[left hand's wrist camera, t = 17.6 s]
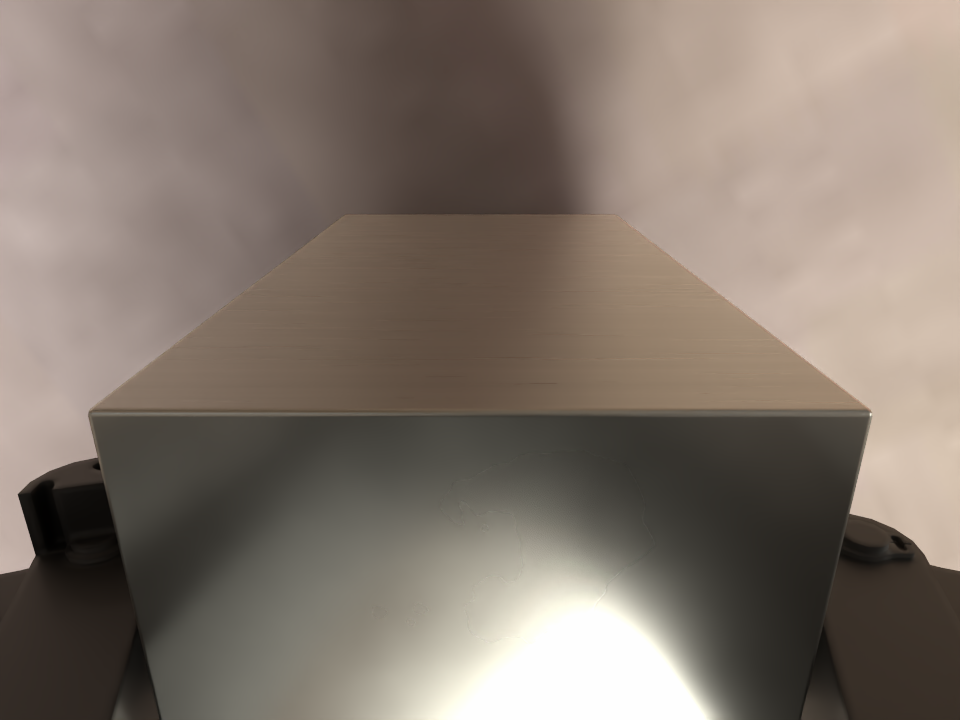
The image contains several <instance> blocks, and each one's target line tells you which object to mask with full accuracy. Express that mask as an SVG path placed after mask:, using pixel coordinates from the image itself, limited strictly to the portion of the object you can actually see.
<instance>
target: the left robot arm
mask: <svg viewBox="0 0 960 720" xmlns="http://www.w3.org/2000/svg"><path fill="white" fill-rule="evenodd" d="M18 497H19V500H20V504H21V507H22V510H23V514H24V517H25V520H26V524H27V527H28V531H29V534H30V537H31V541H32V544H33V548H34V551H35V554H36V556H35V558H34V560H33V562H32V564H31V566H30V568H29V569H25V570H21V571H15V572H10V573H5V574H0V720H160V719H159V715H158V711H157V707H156V702H155V698H154V694H153V690H152V685H151V681H150V677H149V673H148V668H147V664H146V660H145V656H144V651H143V647H142V643H141V639H140V634H139V630H138V626H137V622H136V617H135V613H134V609H133V604H132V600H131V596H130V592H129V587H128V583H127V579H126V575H125V570H124V566H123V562H122V558H121V553H120V549H119V545H118V541H117V536H116V532H115V528H114V524H113V519H112V515H111V511H110V506H109V502H108V498H107V494H106V489H105V485H104V481H103V477H102V472H101V468H100V464H99V460H98V458H94V459H89V460H84V461H79V462H74V463H71V464H68V465H65V466H63V467H60V468H57V469H54V470H51V471H49V472H47V473H46V474H44V475H42V476H40V477H39V478H37V479H35V480H33V481H31V482H30V483H29V484H28V485H27V486H26V487H25V488H24V489H23V490H22V491H21V492H20V493H19V494H18ZM801 720H960V571H956V570H950V569H945V568H940V567H936V566H932V565H930V564H929V562H928V561H927V559H926V557H925V555H924V554H923V552H922V551H921V550H920V549H919V548H918V547H917V545H916V544H915V543H914V542H913V541H912V540H910V539H909V538H907V537H906V536H904V535H903V534H901V533H900V532H898V531H897V530H895V529H894V528H891V527H889V526H887V525H884V524H882V523H880V522H877V521H875V520H872V519H869V518H864V517H860V516H856V515H852V514H849V517H848V521H847V525H846V530H845V534H844V538H843V542H842V547H841V551H840V555H839V559H838V564H837V568H836V572H835V576H834V581H833V585H832V589H831V593H830V598H829V602H828V606H827V610H826V615H825V619H824V623H823V627H822V632H821V636H820V640H819V644H818V649H817V653H816V657H815V661H814V666H813V670H812V674H811V678H810V683H809V687H808V691H807V695H806V700H805V704H804V708H803V712H802V717H801Z"/></svg>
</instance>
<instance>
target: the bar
mask: <svg viewBox="0 0 960 720" xmlns="http://www.w3.org/2000/svg"><path fill="white" fill-rule="evenodd" d="M88 417H89V421H90V426H91V430H92V434H93V438H94V443H95V447H96V451H97V455H98V460H99V464H100V468H101V472H102V477H103V481H104V485H105V489H106V494H107V498H108V502H109V506H110V511H111V515H112V519H113V524H114V528H115V532H116V536H117V541H118V545H119V549H120V553H121V558H122V562H123V566H124V570H125V575H126V579H127V583H128V587H129V592H130V596H131V600H132V604H133V609H134V613H135V617H136V622H137V626H138V630H139V634H140V639H141V643H142V647H143V651H144V656H145V660H146V664H147V668H148V673H149V677H150V681H151V685H152V690H153V694H154V698H155V702H156V707H157V711H158V715H159V719H160V720H801V717H802V712H803V708H804V704H805V700H806V695H807V691H808V687H809V683H810V678H811V674H812V670H813V666H814V661H815V657H816V653H817V649H818V644H819V640H820V636H821V632H822V627H823V623H824V619H825V615H826V610H827V606H828V602H829V598H830V593H831V589H832V585H833V581H834V576H835V572H836V568H837V564H838V559H839V555H840V551H841V547H842V542H843V538H844V534H845V530H846V525H847V521H848V517H849V513H850V508H851V504H852V500H853V496H854V491H855V487H856V483H857V479H858V474H859V470H860V466H861V462H862V457H863V453H864V449H865V445H866V440H867V436H868V432H869V428H870V423H871V419H872V412H871V410H870V409H869V408H867V407H866V406H865V405H864V404H862V403H861V402H860V401H858V400H857V399H856V398H854V397H853V396H852V395H851V394H849V393H848V392H847V391H845V390H844V389H843V388H841V387H840V386H839V385H837V384H836V383H835V382H834V381H832V380H831V379H830V378H828V377H827V376H826V375H824V374H823V373H822V372H821V371H819V370H818V369H817V368H815V367H814V366H813V365H811V364H810V363H809V362H808V361H806V360H805V359H804V358H802V357H801V356H800V355H798V354H797V353H796V352H794V351H793V350H792V349H791V348H789V347H788V346H787V345H785V344H784V343H783V342H781V341H780V340H779V339H778V338H776V337H775V336H774V335H772V334H771V333H770V332H768V331H767V330H766V329H764V328H763V327H762V326H761V325H759V324H758V323H757V322H755V321H754V320H753V319H751V318H750V317H749V316H748V315H746V314H745V313H744V312H742V311H741V310H740V309H738V308H737V307H736V306H735V305H733V304H732V303H731V302H729V301H728V300H727V299H725V298H724V297H723V296H721V295H720V294H719V293H718V292H716V291H715V290H714V289H712V288H711V287H710V286H708V285H707V284H706V283H705V282H703V281H702V280H701V279H699V278H698V277H697V276H695V275H694V274H693V273H691V272H690V271H689V270H688V269H686V268H685V267H684V266H682V265H681V264H680V263H678V262H677V261H676V260H675V259H673V258H672V257H671V256H669V255H668V254H667V253H665V252H664V251H663V250H662V249H660V248H659V247H658V246H656V245H655V244H654V243H652V242H651V241H650V240H648V239H647V238H646V237H645V236H643V235H642V234H641V233H639V232H638V231H637V230H635V229H634V228H633V227H632V226H630V225H629V224H628V223H626V222H625V221H624V220H622V219H621V218H620V217H618V216H617V215H615V214H346V215H344V216H343V217H341V218H340V219H339V220H337V221H336V222H335V223H333V224H332V225H331V226H329V227H328V228H327V229H326V230H324V231H323V232H322V233H320V234H319V235H318V236H316V237H315V238H314V239H312V240H311V241H310V242H309V243H307V244H306V245H305V246H303V247H302V248H301V249H299V250H298V251H297V252H295V253H294V254H293V255H291V256H290V257H289V258H288V259H286V260H285V261H284V262H282V263H281V264H280V265H278V266H277V267H276V268H274V269H273V270H272V271H271V272H269V273H268V274H267V275H265V276H264V277H263V278H261V279H260V280H259V281H257V282H256V283H255V284H253V285H252V286H251V287H250V288H248V289H247V290H246V291H244V292H243V293H242V294H240V295H239V296H238V297H236V298H235V299H234V300H233V301H231V302H230V303H229V304H227V305H226V306H225V307H223V308H222V309H221V310H219V311H218V312H217V313H215V314H214V315H213V316H212V317H210V318H209V319H208V320H206V321H205V322H204V323H202V324H201V325H200V326H198V327H197V328H196V329H195V330H193V331H192V332H191V333H189V334H188V335H187V336H185V337H184V338H183V339H181V340H180V341H179V342H177V343H176V344H175V345H174V346H172V347H171V348H170V349H168V350H167V351H166V352H164V353H163V354H162V355H160V356H159V357H158V358H157V359H155V360H154V361H153V362H151V363H150V364H149V365H147V366H146V367H145V368H143V369H142V370H141V371H139V372H138V373H137V374H136V375H134V376H133V377H132V378H130V379H129V380H128V381H126V382H125V383H124V384H122V385H121V386H120V387H119V388H117V389H116V390H115V391H113V392H112V393H111V394H109V395H108V396H107V397H105V398H104V399H103V400H101V401H100V402H99V403H98V404H96V405H95V406H94V407H92V408H91V409H90V410H89V414H88Z"/></svg>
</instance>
